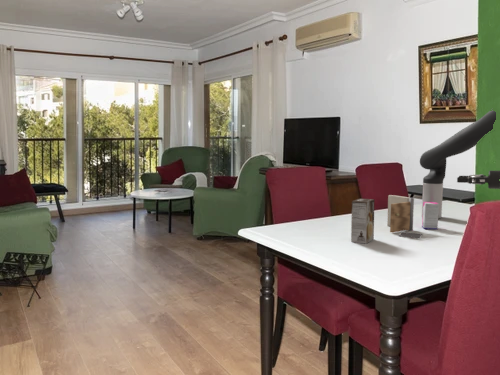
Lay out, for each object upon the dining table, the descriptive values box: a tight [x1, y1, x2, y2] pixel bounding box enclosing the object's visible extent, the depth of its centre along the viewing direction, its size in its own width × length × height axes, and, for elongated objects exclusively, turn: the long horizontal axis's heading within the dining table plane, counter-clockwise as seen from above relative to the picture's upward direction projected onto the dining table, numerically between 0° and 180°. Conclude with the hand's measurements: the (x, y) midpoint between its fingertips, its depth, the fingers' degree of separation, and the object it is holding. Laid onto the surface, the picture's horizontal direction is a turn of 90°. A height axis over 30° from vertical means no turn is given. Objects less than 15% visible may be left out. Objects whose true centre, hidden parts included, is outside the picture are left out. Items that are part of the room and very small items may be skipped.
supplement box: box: [421, 202, 439, 230], centre depth 201 cm, size 6×6×12 cm
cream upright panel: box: [386, 194, 415, 231], centre depth 201 cm, size 2×13×14 cm, turn 33°
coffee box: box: [350, 198, 375, 245], centre depth 177 cm, size 9×6×16 cm
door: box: [389, 202, 410, 233], centre depth 192 cm, size 11×2×12 cm, turn 123°
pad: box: [398, 231, 423, 239], centre depth 187 cm, size 8×8×1 cm
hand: (458, 179), depth 194 cm, fingers open, 8 cm apart
